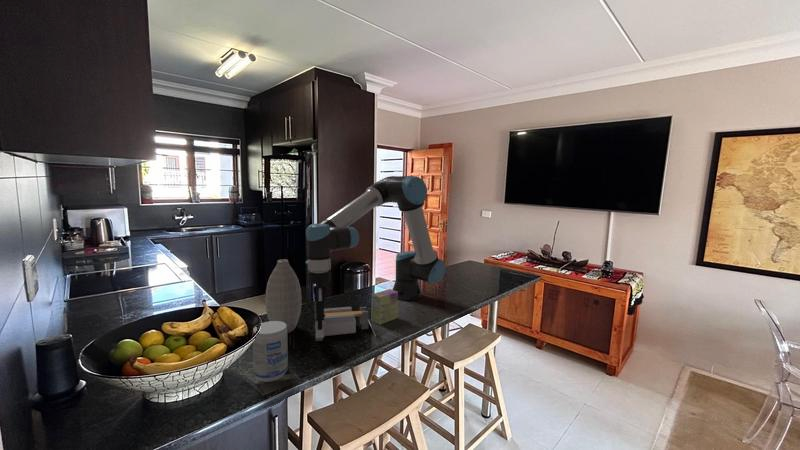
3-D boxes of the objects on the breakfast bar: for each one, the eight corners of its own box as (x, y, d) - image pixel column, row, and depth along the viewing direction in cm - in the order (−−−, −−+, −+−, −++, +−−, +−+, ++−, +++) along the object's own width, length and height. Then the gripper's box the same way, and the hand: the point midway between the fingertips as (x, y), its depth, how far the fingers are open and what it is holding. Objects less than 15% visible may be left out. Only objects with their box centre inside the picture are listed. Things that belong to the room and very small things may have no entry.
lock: (321, 333, 122) (321, 312, 121) (322, 340, 116) (322, 318, 115) (315, 333, 121) (315, 313, 120) (315, 341, 116) (315, 319, 115)
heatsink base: (367, 319, 138) (367, 301, 137) (376, 338, 121) (376, 317, 120) (308, 324, 132) (308, 305, 131) (309, 345, 115) (308, 324, 114)
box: (389, 314, 144) (389, 288, 143) (398, 318, 140) (398, 291, 139) (370, 320, 137) (371, 293, 135) (379, 325, 133) (380, 297, 131)
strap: (365, 313, 130) (365, 309, 130) (367, 316, 127) (367, 312, 126) (315, 316, 125) (315, 312, 125) (315, 321, 121) (315, 316, 121)
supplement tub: (271, 387, 91) (270, 337, 89) (246, 379, 95) (244, 330, 93) (294, 369, 100) (294, 323, 98) (270, 362, 103) (269, 318, 102)
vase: (291, 341, 117) (289, 265, 114) (259, 338, 119) (256, 263, 116) (307, 327, 130) (306, 257, 126) (278, 323, 132) (276, 255, 128)
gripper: (307, 266, 115) (308, 329, 118) (307, 276, 102) (308, 347, 105) (329, 265, 117) (329, 327, 120) (332, 274, 104) (332, 344, 107)
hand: (319, 336), depth 112 cm, fingers closed
